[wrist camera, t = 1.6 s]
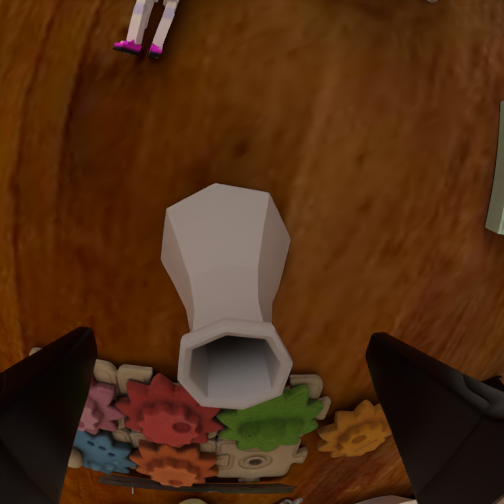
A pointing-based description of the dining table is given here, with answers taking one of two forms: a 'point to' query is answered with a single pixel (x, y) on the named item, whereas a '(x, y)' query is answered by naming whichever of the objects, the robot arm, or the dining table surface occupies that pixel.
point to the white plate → (389, 500)
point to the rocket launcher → (288, 503)
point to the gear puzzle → (209, 429)
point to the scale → (498, 185)
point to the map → (197, 486)
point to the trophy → (193, 501)
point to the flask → (228, 294)
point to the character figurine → (140, 23)
